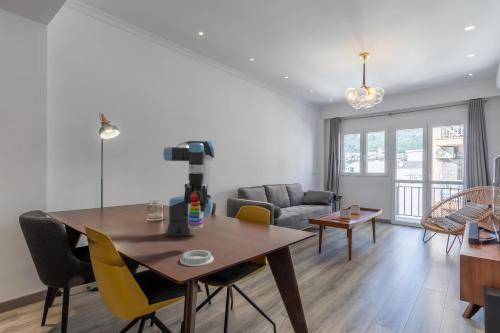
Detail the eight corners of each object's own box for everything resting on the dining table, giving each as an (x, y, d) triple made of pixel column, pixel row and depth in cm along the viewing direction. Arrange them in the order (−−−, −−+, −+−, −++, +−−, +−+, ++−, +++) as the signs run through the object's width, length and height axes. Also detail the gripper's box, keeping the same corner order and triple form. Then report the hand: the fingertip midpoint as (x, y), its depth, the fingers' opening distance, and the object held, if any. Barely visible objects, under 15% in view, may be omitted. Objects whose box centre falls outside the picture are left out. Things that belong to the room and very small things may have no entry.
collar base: (172, 261, 118) (172, 256, 118) (195, 252, 131) (195, 247, 131) (198, 268, 110) (198, 262, 110) (220, 258, 123) (220, 252, 123)
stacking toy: (188, 225, 141) (189, 190, 141) (204, 225, 142) (204, 191, 141) (186, 229, 133) (186, 192, 133) (202, 229, 134) (203, 192, 133)
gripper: (176, 172, 139) (176, 216, 139) (206, 173, 129) (205, 220, 129) (187, 172, 145) (186, 213, 146) (215, 173, 135) (215, 218, 136)
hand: (195, 217), depth 137 cm, fingers closed on stacking toy, 7 cm apart
